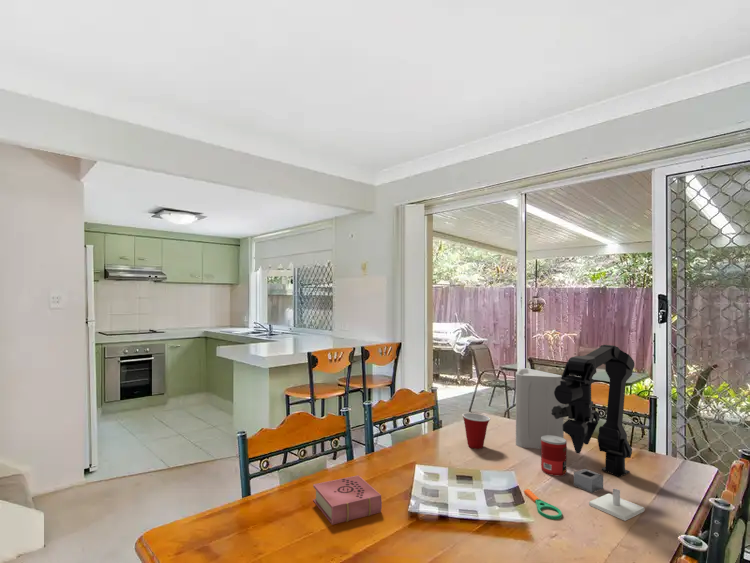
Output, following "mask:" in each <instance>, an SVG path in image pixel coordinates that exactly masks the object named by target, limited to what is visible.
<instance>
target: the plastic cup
mask: <svg viewBox="0 0 750 563" xmlns="http://www.w3.org/2000/svg"><path fill="white" fill-rule="evenodd" d="M461 415H462V418H463V422H464V429H465V436H466V441H467V442H466V443H467V445H468V447H469V448H471V449H476V450H480V449H483V447H484V445H485V440H486V435H487V429H488V424H489V423H490V420H491V418H490V417H489V416H487V415H485V414H480V413H475V412H465V413H462V414H461Z"/></svg>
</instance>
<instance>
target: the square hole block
mask: <svg viewBox="0 0 750 563" xmlns="http://www.w3.org/2000/svg"><path fill="white" fill-rule="evenodd" d="M573 486H574V487H577V488H579V489H582V490H584V491H587V492H588V493H591V494H593V493H596V492H598V491H601V490H602V489H604V475H603V474H600V473H598V472H595V471H593V470H589V469H587V468H583V469H579V470H577V471H575V472H573Z"/></svg>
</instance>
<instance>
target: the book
mask: <svg viewBox="0 0 750 563" xmlns="http://www.w3.org/2000/svg"><path fill="white" fill-rule="evenodd" d="M312 487H313V489H314V490H315V498H314V499H312V501H313V502H314V504H315V505H316V506H317V507H318V509H319V510H320V511H321V513H322V514H323V515H324V517H325V518H326V519H327V520H328V522H329V524H331V525H337V524H340V523H344V522H346V523H348V522H349V521H352V520H356V519H360V518H364V517H370V516H372V515H375V514H379V513H382V507H383V506H382V504H383V503H382V502H383V501H382V494H381V493H380V492H378V491H377V490H376V489H375V488H374V487H373V486H372V485H370V484H369V482H367V481H366V480H365V479H363V477H361V476H360V475H354V476H348V477H343V478H339V479H338V478H337V479H334V480H328V481H323V482H320V483H314V484H313V486H312Z"/></svg>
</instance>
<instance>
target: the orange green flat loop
mask: <svg viewBox="0 0 750 563" xmlns="http://www.w3.org/2000/svg"><path fill="white" fill-rule="evenodd" d="M523 492H524V494H525V495H526V496H527V497H528V498H529V499H530V500H531V501H532V502H533V503H535V505H536V510H537V513H538V514H539V515H540V516H541V517H544V518H547V519H549V520H560V519H561V518H562V516H563V512H562V510H561V509H559V507H556V506H555V505H553V504H550V503H548V502H547V501H544V500H542V499H540V498H539V497H538V496H537V495H536V494H535V493H534V492H533V491H531V490H530V489H528V488H527V489H524V491H523ZM544 509H545V510H551V511H554V512H556V513H557V514H555V515H552V514H547V513H545V512H543V511H542V510H544Z"/></svg>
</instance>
